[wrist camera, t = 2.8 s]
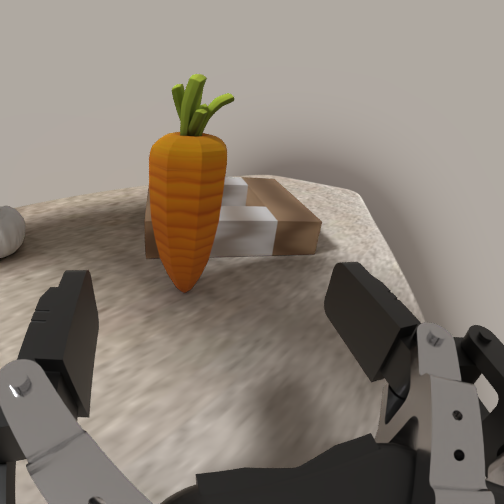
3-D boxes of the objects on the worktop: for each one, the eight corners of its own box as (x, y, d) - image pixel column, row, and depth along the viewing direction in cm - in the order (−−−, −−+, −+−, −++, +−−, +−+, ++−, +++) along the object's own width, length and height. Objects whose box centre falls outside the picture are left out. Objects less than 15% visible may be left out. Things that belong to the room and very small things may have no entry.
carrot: (172, 267, 26) (182, 77, 19) (227, 284, 24) (251, 80, 17) (138, 298, 21) (137, 73, 14) (199, 321, 20) (218, 72, 13)
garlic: (21, 265, 22) (10, 211, 20) (-24, 269, 20) (-37, 217, 18) (35, 236, 27) (28, 189, 25) (-6, 240, 25) (-15, 194, 23)
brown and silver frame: (145, 258, 26) (144, 221, 25) (149, 202, 38) (150, 175, 36) (314, 254, 31) (322, 221, 29) (270, 203, 42) (274, 179, 41)
